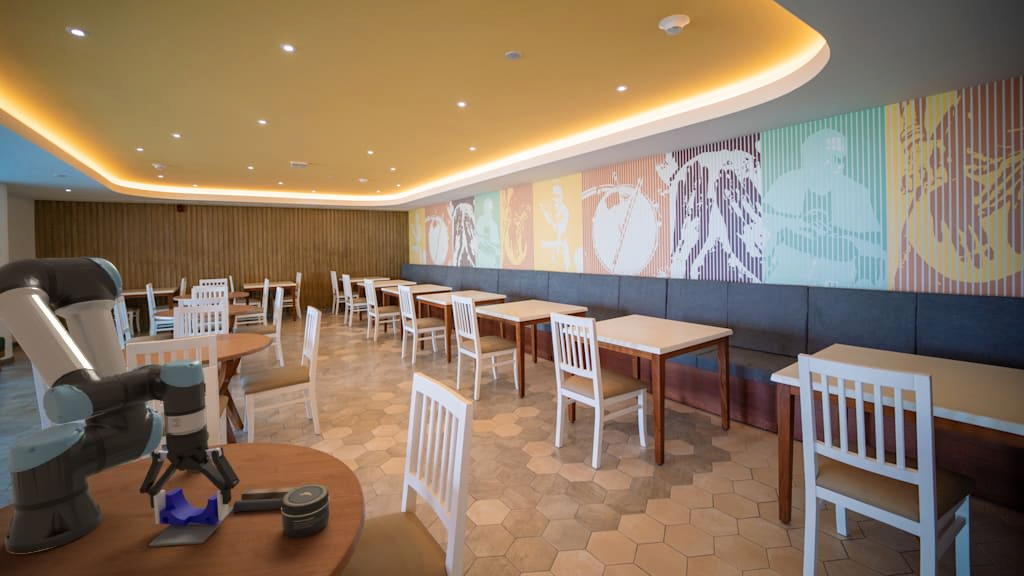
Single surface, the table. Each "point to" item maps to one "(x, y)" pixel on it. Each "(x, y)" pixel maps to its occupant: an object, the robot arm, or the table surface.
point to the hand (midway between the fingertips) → (192, 518)
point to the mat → (186, 533)
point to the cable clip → (187, 510)
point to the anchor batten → (265, 493)
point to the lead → (257, 505)
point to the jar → (305, 510)
